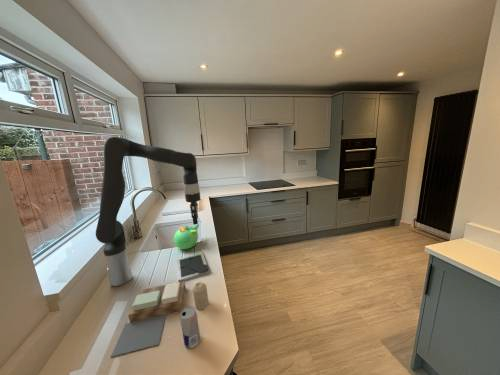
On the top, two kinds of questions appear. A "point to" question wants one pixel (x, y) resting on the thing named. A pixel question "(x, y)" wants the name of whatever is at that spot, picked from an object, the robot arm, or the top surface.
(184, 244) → the toy bird
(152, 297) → the sage green block
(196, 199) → the robot arm
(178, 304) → the thick wooden panel
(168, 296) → the cream block
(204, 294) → the candle
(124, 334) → the mat
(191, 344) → the energy drink
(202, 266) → the picture frame
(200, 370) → the top surface
